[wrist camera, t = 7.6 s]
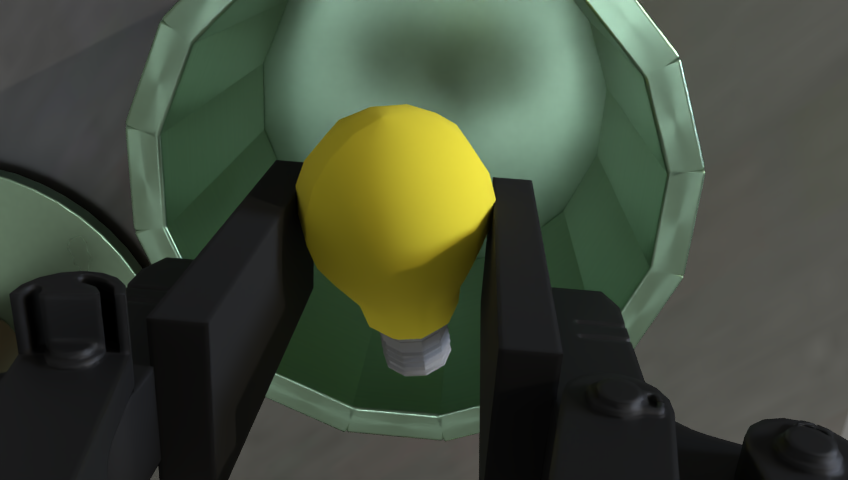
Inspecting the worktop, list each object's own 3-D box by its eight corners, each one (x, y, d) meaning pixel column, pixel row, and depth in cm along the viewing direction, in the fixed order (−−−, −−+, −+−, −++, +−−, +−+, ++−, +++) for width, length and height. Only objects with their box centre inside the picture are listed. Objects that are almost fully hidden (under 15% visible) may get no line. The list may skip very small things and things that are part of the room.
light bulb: (448, 52, 15) (518, 147, 12) (469, 292, 18) (526, 406, 16) (266, 92, 14) (296, 200, 11) (325, 331, 18) (359, 456, 15)
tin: (239, -116, 24) (101, -129, 15) (657, -88, 24) (759, -87, 15) (249, 262, 29) (148, 415, 20) (596, 291, 29) (646, 461, 20)
